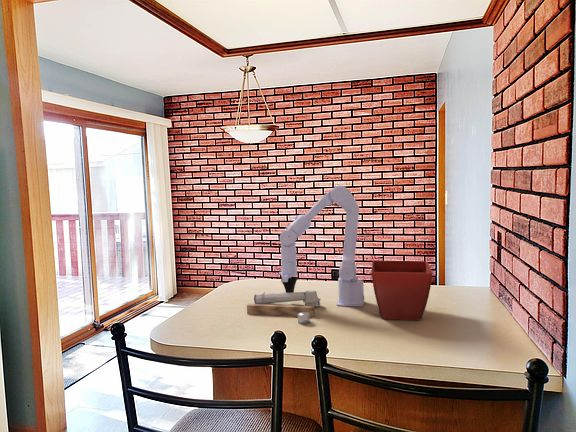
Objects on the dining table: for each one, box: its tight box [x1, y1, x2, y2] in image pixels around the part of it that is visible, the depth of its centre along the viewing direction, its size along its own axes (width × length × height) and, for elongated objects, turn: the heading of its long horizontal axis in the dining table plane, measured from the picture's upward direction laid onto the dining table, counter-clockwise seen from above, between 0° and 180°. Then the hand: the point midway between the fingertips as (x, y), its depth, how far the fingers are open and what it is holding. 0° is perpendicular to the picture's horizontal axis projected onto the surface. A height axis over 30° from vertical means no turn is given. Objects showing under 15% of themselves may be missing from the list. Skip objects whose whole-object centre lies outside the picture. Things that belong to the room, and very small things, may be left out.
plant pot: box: [370, 260, 434, 321], centre depth 155 cm, size 19×19×17 cm
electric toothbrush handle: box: [253, 289, 321, 308], centre depth 171 cm, size 5×7×25 cm
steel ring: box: [297, 312, 311, 325], centre depth 150 cm, size 4×4×3 cm
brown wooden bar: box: [246, 303, 316, 317], centre depth 160 cm, size 24×2×3 cm, turn 76°
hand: (289, 296), depth 174 cm, fingers closed
